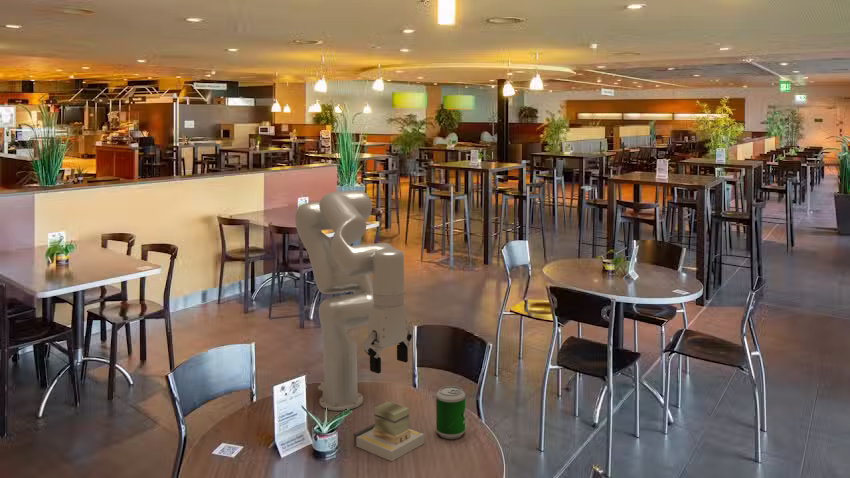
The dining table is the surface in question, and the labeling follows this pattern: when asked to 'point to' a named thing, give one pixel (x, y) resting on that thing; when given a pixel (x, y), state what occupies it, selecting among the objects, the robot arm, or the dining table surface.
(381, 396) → the dining table surface
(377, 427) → the pallet
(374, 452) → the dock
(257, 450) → the dining table surface
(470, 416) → the dining table surface
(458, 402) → the soda can
